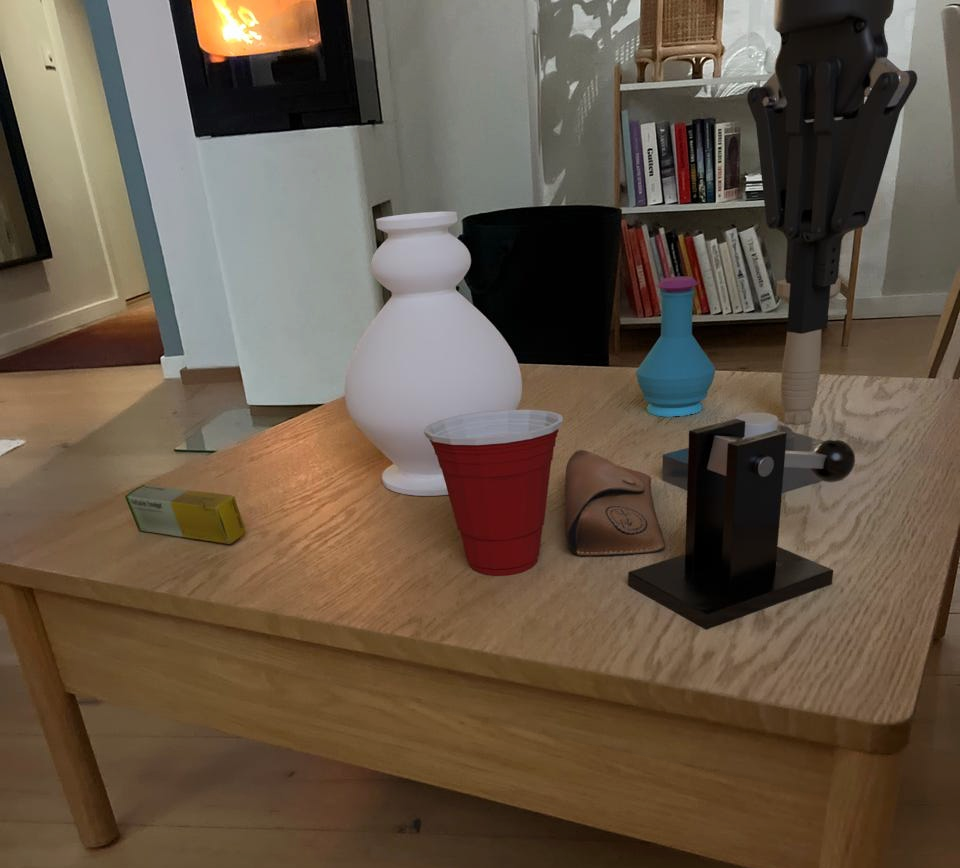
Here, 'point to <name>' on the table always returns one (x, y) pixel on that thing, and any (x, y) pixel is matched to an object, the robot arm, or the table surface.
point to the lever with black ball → (797, 458)
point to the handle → (800, 367)
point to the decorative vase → (424, 352)
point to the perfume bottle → (676, 356)
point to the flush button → (758, 423)
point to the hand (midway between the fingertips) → (806, 329)
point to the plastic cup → (497, 483)
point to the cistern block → (792, 477)
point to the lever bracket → (731, 535)
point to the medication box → (186, 513)
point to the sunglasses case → (609, 508)
